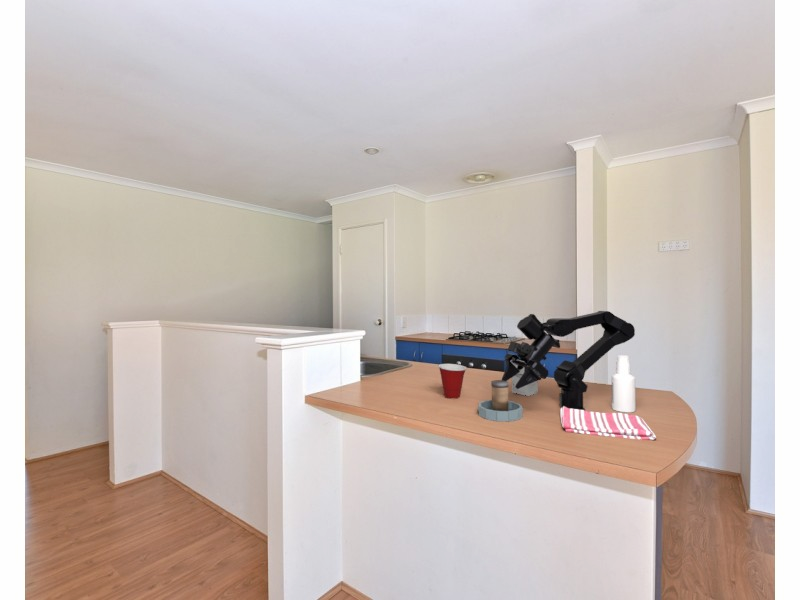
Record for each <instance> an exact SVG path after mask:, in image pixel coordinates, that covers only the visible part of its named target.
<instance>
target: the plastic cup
mask: <svg viewBox="0 0 800 600" xmlns="http://www.w3.org/2000/svg"><path fill="white" fill-rule="evenodd" d="M438 368H439V373H440V378H441V383H442V385H441V386H442V388H443V395H444V398H446V399H451V398H455V399H459V398H460V397H461V394H462V393H461V392H462V387H463V381H464V376H465V373H466V370H467V369H468V368H467V366H464V365H460V364H456V363H440V364H438ZM458 397H459V398H458Z"/></svg>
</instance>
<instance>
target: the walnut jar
mask: <svg viewBox="0 0 800 600" xmlns="http://www.w3.org/2000/svg"><path fill="white" fill-rule="evenodd" d="M490 383H491V400H492V410H495V411H508V401H509V386H510V385H509V381H508V380H507V381H503V380H502V379H494V380H491V382H490Z"/></svg>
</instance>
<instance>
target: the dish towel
mask: <svg viewBox="0 0 800 600" xmlns="http://www.w3.org/2000/svg"><path fill="white" fill-rule="evenodd" d="M559 412H560V415H559V417H560V421H561V427H562V428H563V429H565V432H566V433H574V434H579V433H581V434H580V435H587V434H590V435H591V436H599V435H600V436H601V437H607V436H609V438H610V437H611V438H620V437H622V438H624V439H628V440H629V439H631V440H640V439H641V440H642V441H646V440H647V441H654V440H656V439H657V436H656V434H655V433H654V431H652V429H651V428H650V426H649V425H648V424H647V423H646V421H645V420H644V419H643V418H642V417H640V416H639V415H636V414H635V415H634V414H630V413H624V412H597V411H587V410H579V409H572V408H571V409H569V408H567V407H565V406H563V408H562V407H561V408H560V411H559ZM590 435H589V436H590ZM622 438H621V439H622Z"/></svg>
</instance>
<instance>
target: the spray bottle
mask: <svg viewBox="0 0 800 600" xmlns="http://www.w3.org/2000/svg"><path fill="white" fill-rule="evenodd" d="M616 357H617V358H616V362H615V363H616V367H615V371H616V372H615V373H614V374H612V375H611V409H612V410H614V411H616V412H618V413H624V414H630V413H634V412H636V377H635V376H634V375H632V374H631V363H630V356H629V355H625V354H617V356H616Z"/></svg>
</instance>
